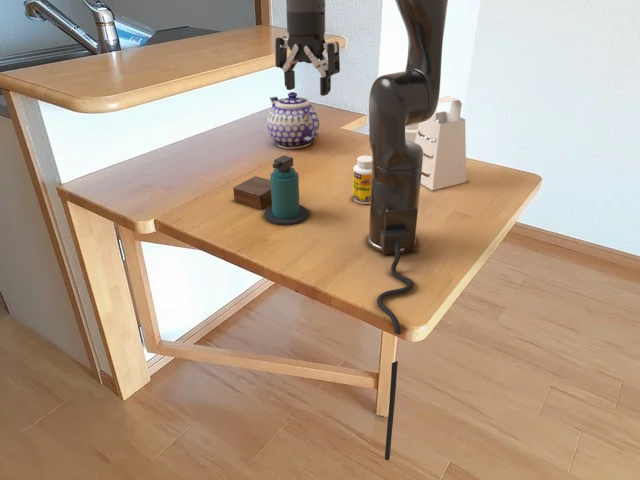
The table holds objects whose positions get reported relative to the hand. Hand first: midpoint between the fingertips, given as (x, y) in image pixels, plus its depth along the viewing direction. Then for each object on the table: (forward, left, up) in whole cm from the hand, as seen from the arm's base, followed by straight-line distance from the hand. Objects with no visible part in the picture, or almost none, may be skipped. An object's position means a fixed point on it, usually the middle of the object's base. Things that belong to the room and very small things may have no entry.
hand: (307, 92), depth 110 cm
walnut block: (+3, +12, -25) cm, 28 cm away
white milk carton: (+26, -33, -25) cm, 49 cm away
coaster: (-6, +6, -25) cm, 27 cm away
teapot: (+40, -3, -25) cm, 47 cm away
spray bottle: (-3, +3, -23) cm, 24 cm away
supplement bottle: (-2, -13, -25) cm, 28 cm away
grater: (+6, -34, -25) cm, 43 cm away
